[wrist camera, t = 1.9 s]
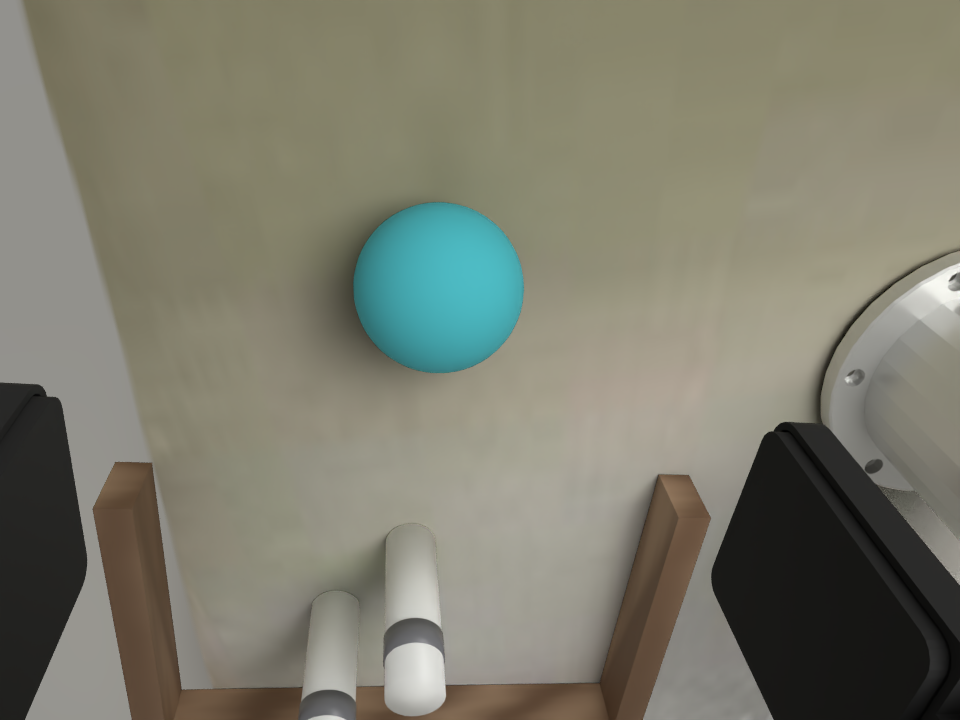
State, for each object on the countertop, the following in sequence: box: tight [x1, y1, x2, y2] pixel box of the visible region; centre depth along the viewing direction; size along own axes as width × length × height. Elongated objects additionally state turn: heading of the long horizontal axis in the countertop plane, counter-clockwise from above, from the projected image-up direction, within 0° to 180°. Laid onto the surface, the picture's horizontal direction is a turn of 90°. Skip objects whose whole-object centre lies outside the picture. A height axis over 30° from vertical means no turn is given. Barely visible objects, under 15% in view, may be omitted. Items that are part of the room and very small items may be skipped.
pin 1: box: [298, 591, 360, 720], centre depth 36 cm, size 2×2×8 cm
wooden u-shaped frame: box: [93, 462, 711, 720], centre depth 38 cm, size 26×17×3 cm, turn 84°
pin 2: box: [383, 524, 446, 716], centre depth 34 cm, size 2×2×8 cm
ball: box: [353, 202, 524, 373], centre depth 27 cm, size 6×6×6 cm
